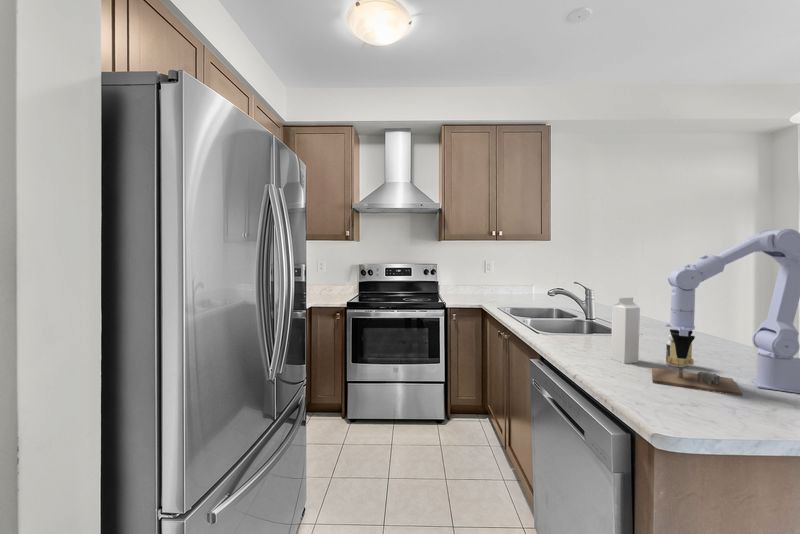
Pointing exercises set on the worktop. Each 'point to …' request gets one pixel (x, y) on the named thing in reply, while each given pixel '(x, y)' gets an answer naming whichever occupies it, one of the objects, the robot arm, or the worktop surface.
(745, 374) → the worktop surface
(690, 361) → the gear
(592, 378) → the worktop surface
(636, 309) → the milk
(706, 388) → the carrier plate
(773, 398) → the worktop surface
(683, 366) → the pill bottle
